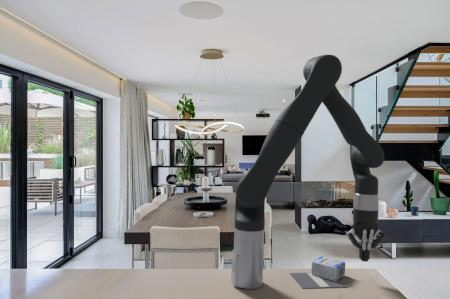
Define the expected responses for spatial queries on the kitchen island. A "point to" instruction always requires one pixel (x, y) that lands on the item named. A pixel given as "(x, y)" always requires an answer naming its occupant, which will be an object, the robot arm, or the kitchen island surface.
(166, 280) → the kitchen island surface
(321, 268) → the medicine box
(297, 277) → the mat
